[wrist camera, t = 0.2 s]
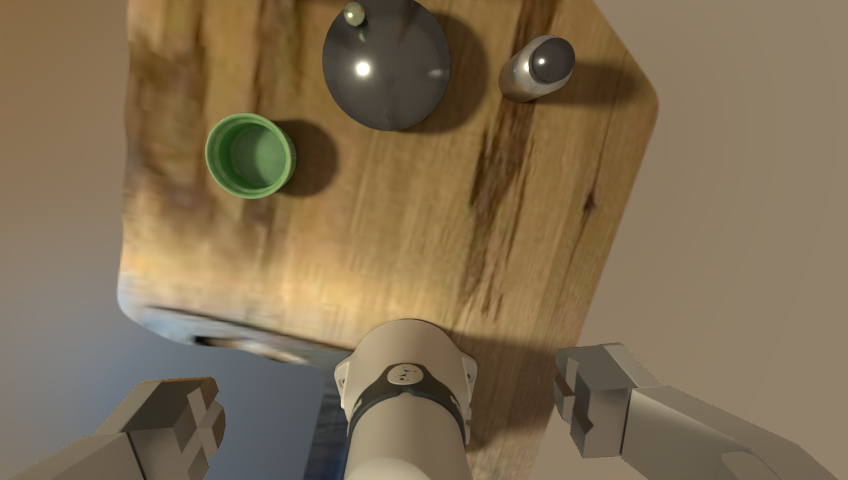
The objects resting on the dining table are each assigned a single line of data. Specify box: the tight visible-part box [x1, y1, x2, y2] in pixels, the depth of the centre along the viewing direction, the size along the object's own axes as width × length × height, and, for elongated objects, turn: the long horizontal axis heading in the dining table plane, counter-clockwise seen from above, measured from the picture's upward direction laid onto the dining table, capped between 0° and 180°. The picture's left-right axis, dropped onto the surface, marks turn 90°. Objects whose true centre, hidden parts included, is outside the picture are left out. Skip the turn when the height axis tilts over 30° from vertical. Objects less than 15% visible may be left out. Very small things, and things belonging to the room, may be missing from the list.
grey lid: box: [322, 0, 451, 131], centre depth 43 cm, size 13×13×5 cm
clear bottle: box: [499, 35, 575, 103], centre depth 41 cm, size 5×5×11 cm
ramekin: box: [205, 113, 297, 199], centre depth 45 cm, size 9×9×4 cm
